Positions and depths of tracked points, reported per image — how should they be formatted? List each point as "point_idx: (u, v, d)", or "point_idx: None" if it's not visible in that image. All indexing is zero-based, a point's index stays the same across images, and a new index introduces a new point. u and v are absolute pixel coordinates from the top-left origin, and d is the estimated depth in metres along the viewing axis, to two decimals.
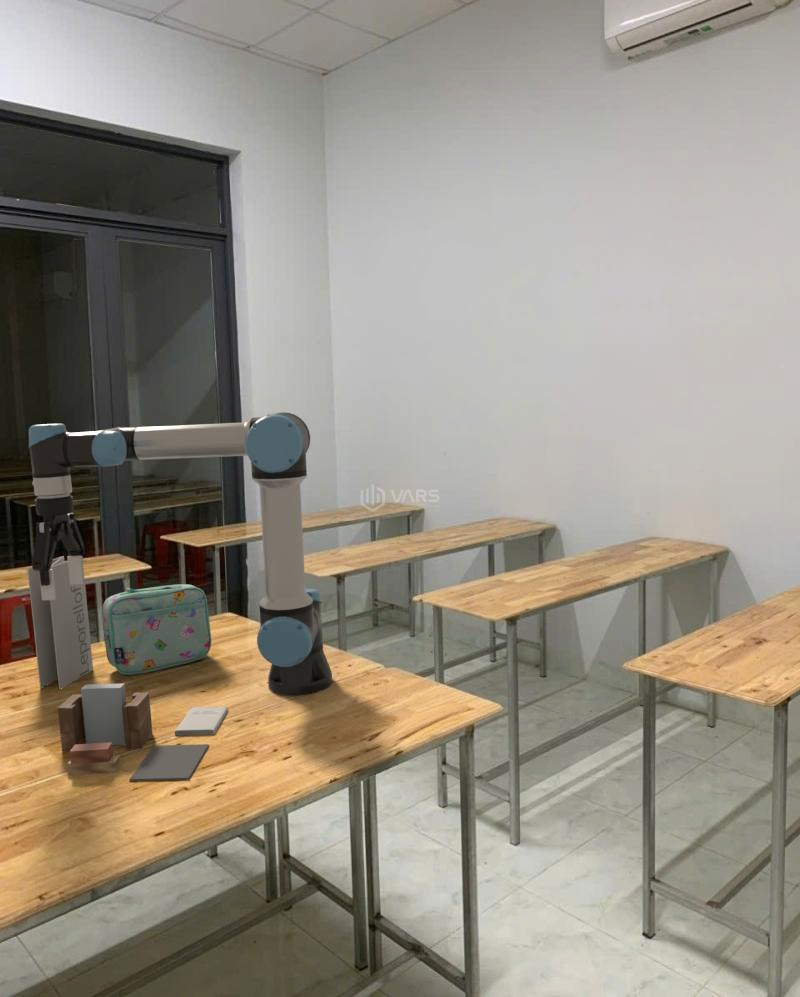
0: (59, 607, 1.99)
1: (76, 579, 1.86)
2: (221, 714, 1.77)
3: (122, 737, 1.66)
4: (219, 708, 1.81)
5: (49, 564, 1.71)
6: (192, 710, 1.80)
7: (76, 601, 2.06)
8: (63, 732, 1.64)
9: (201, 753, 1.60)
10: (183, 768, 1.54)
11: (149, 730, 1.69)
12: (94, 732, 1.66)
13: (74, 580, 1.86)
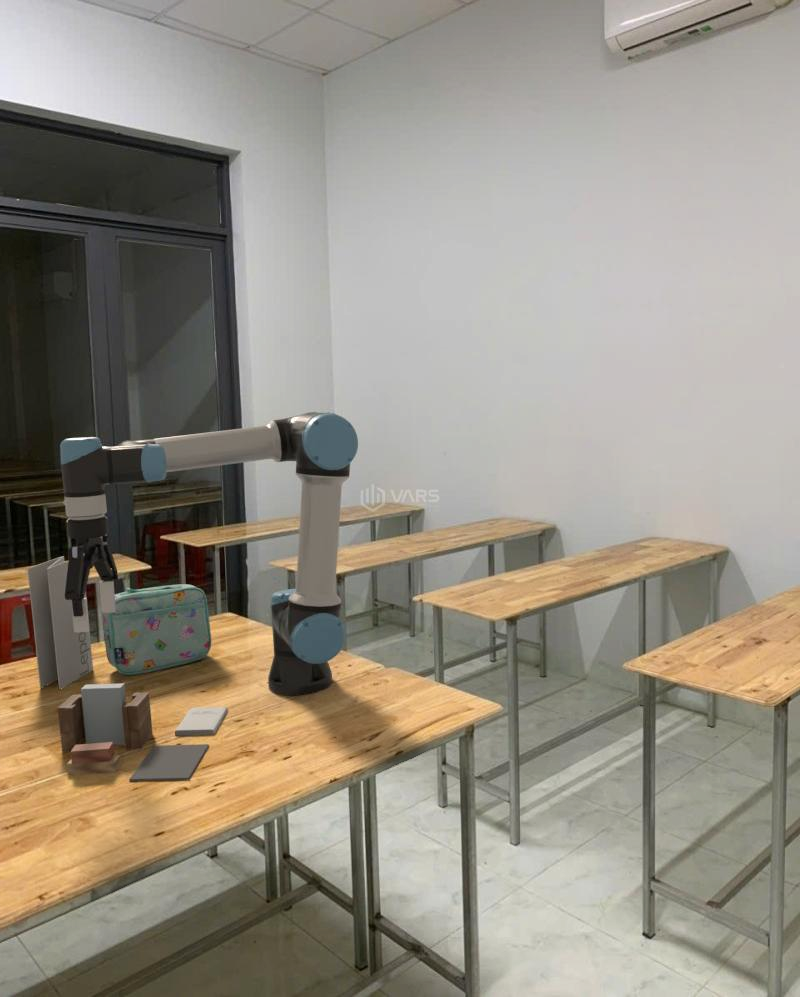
0: (59, 607, 1.99)
1: (109, 607, 1.70)
2: (221, 714, 1.77)
3: (122, 737, 1.66)
4: (218, 708, 1.81)
5: (83, 593, 1.55)
6: (192, 710, 1.80)
7: None
8: (63, 732, 1.64)
9: (201, 753, 1.60)
10: (183, 768, 1.54)
11: (149, 730, 1.69)
12: (94, 732, 1.66)
13: (106, 608, 1.70)
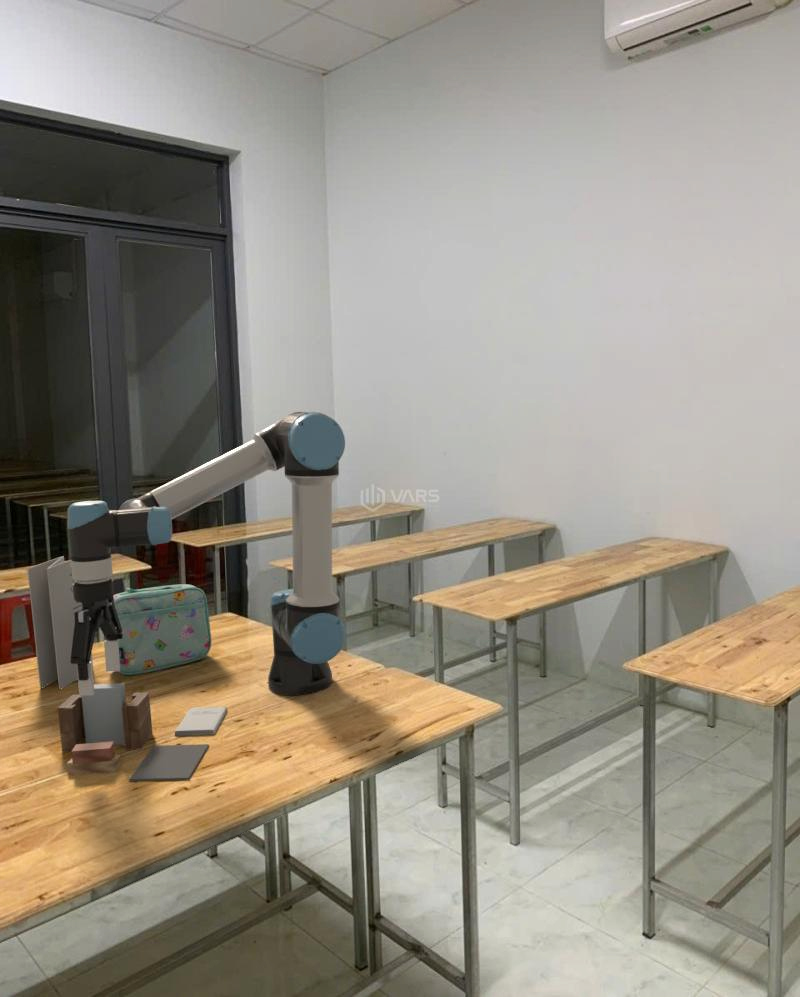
0: (59, 607, 1.99)
1: (113, 666, 1.72)
2: (220, 714, 1.77)
3: (122, 737, 1.66)
4: (218, 708, 1.81)
5: (88, 657, 1.57)
6: (191, 710, 1.80)
7: (76, 601, 2.06)
8: (63, 732, 1.64)
9: (201, 753, 1.60)
10: (183, 768, 1.54)
11: (149, 730, 1.69)
12: (94, 732, 1.66)
13: (111, 667, 1.72)
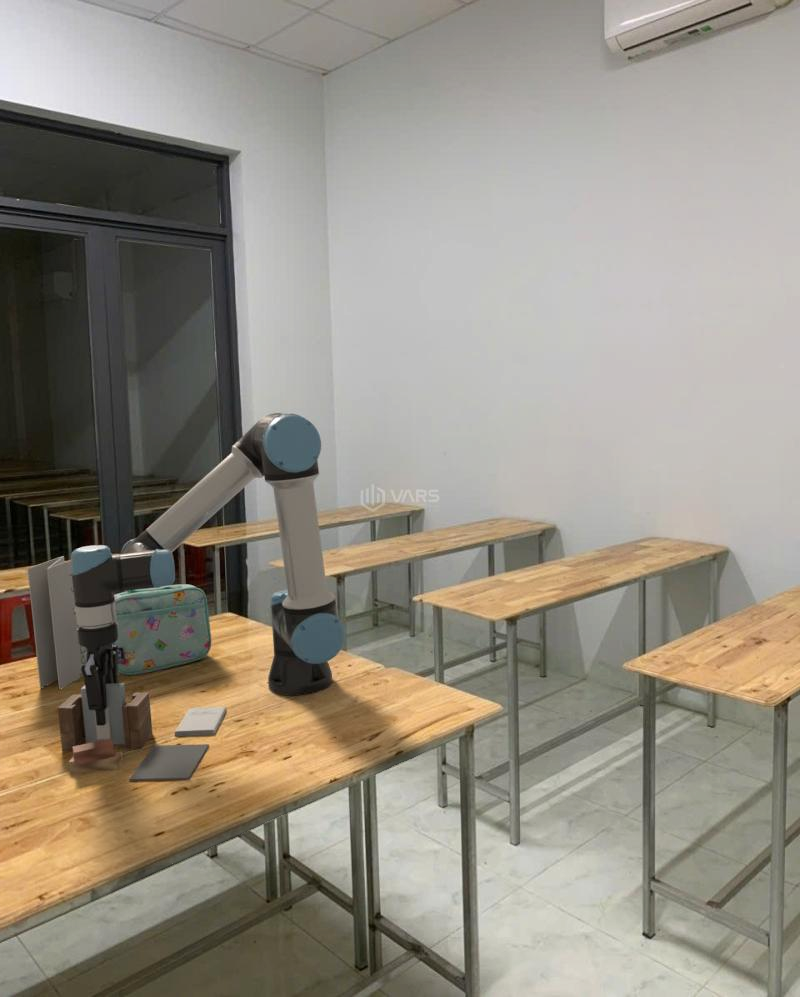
0: (59, 607, 1.99)
1: None
2: (220, 714, 1.77)
3: (122, 736, 1.66)
4: (217, 708, 1.81)
5: (105, 703, 1.64)
6: (190, 711, 1.80)
7: None
8: (63, 732, 1.64)
9: (201, 753, 1.60)
10: (183, 768, 1.54)
11: (149, 730, 1.69)
12: (94, 731, 1.66)
13: None
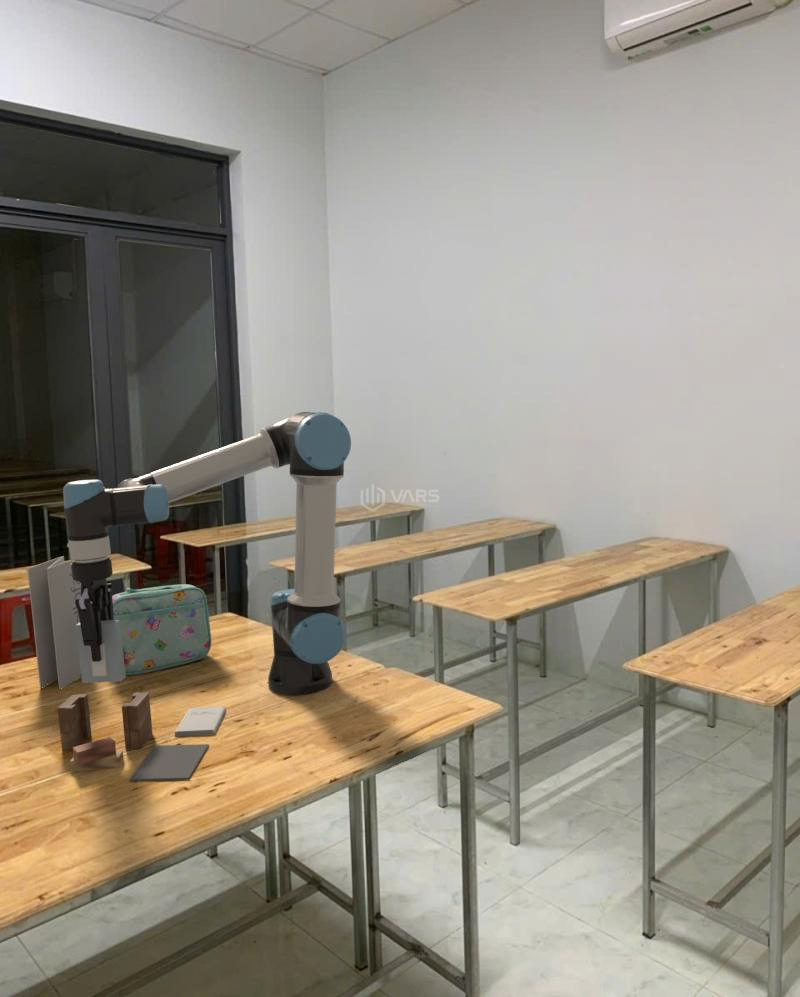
0: (59, 607, 1.99)
1: None
2: (220, 714, 1.77)
3: (118, 673, 1.64)
4: (216, 708, 1.81)
5: (100, 639, 1.62)
6: (190, 711, 1.80)
7: None
8: (63, 732, 1.64)
9: (201, 753, 1.60)
10: (183, 768, 1.54)
11: (149, 730, 1.69)
12: (90, 669, 1.64)
13: None
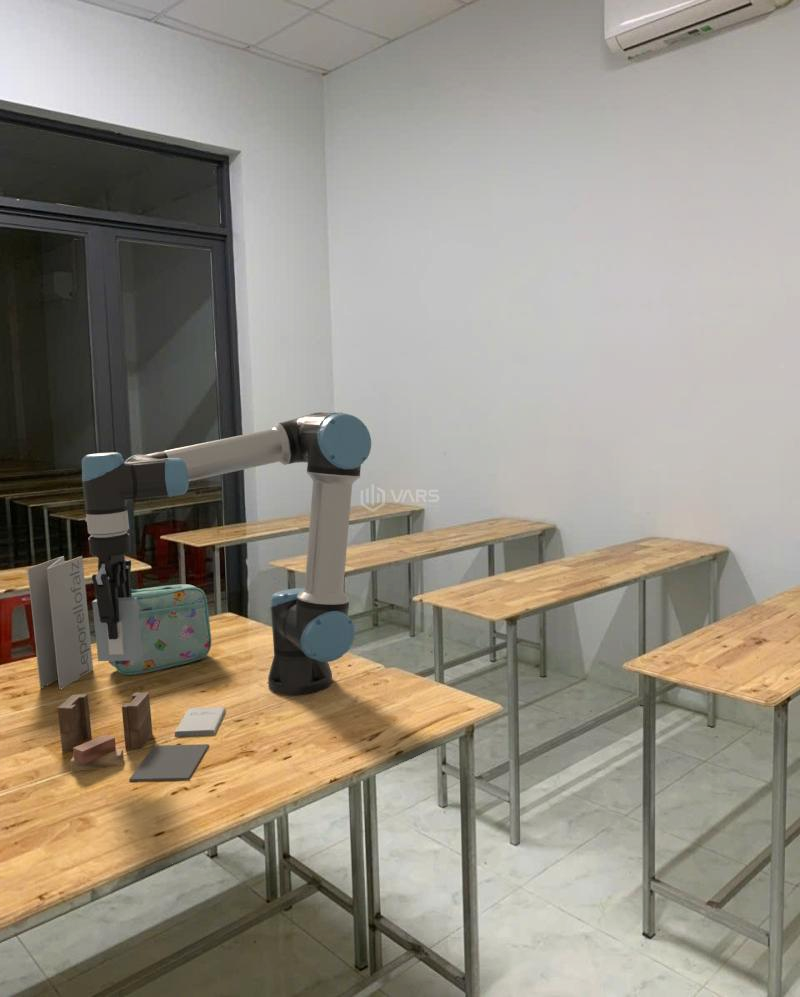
0: (59, 607, 1.99)
1: None
2: (219, 714, 1.77)
3: (135, 652, 1.60)
4: (216, 708, 1.81)
5: (117, 616, 1.58)
6: (189, 711, 1.80)
7: (76, 601, 2.06)
8: (63, 732, 1.64)
9: (201, 753, 1.60)
10: (183, 768, 1.54)
11: (149, 730, 1.69)
12: (106, 646, 1.60)
13: None
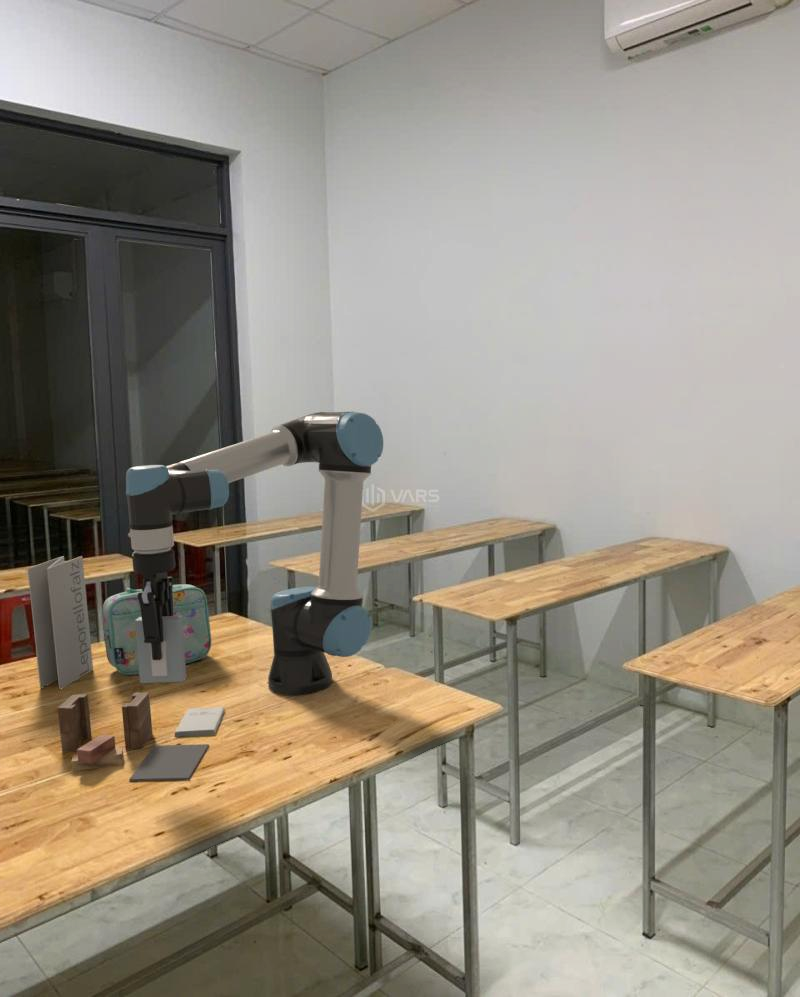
0: (59, 607, 1.99)
1: None
2: (219, 714, 1.77)
3: (179, 673, 1.53)
4: (215, 708, 1.81)
5: (161, 636, 1.51)
6: (189, 711, 1.80)
7: (76, 601, 2.06)
8: (63, 732, 1.64)
9: (201, 753, 1.60)
10: (183, 768, 1.54)
11: (149, 730, 1.69)
12: (149, 667, 1.53)
13: None
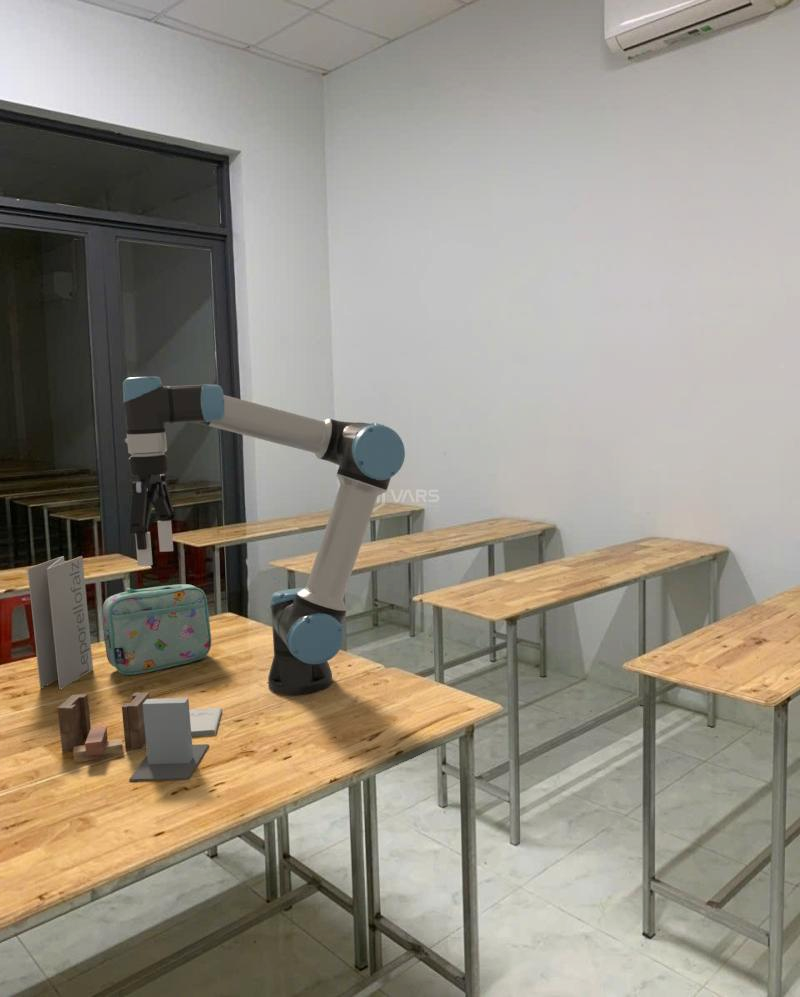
0: (59, 607, 1.99)
1: (167, 546, 1.74)
2: (217, 715, 1.77)
3: (186, 755, 1.56)
4: (213, 709, 1.80)
5: (146, 526, 1.59)
6: None
7: (76, 601, 2.06)
8: (63, 732, 1.64)
9: (201, 753, 1.60)
10: (183, 768, 1.54)
11: None
12: (157, 749, 1.56)
13: (164, 547, 1.74)
